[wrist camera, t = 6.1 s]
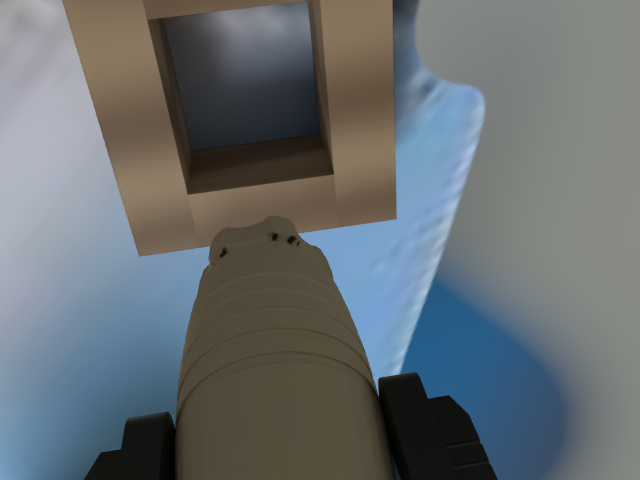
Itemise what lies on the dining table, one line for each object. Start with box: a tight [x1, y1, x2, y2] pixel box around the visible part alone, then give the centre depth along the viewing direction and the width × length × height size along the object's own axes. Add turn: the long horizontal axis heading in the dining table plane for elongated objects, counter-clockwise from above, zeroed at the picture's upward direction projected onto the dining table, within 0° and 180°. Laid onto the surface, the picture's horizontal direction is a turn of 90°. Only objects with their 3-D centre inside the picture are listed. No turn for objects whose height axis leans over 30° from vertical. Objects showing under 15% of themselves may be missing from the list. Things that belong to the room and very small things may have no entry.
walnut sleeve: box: [62, 0, 397, 256], centre depth 29 cm, size 14×13×5 cm
